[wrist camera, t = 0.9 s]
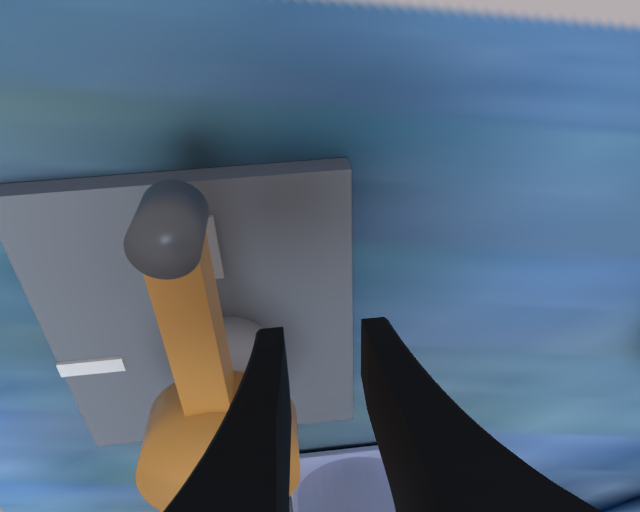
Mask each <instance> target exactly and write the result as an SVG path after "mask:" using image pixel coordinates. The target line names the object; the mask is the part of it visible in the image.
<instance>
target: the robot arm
mask: <svg viewBox="0 0 640 512" xmlns="http://www.w3.org/2000/svg"><path fill="white" fill-rule="evenodd" d="M361 377H362V383H363V388H364V394H365V400H366V405H367V410H368V414H369V417H370V421H371V424H372V428H373V431H374V434H375V438H376V441H377V445H375V446H366V447H357V448H348V449H339V450H330V451H321V452H312V453H303V454H299V457H300V480H299V484H298V486H297V488H296V490H295V491H294V493H293V494H292V495H291V498H292V506H293V512H601V511H600V510H598V509H596V508H595V507H593V506H591V505H590V504H588V503H587V502H585V501H583V500H582V499H580V498H578V497H577V496H575V495H573V494H572V493H570V492H568V491H567V490H565V489H563V488H562V487H560V486H558V485H557V484H555V483H554V482H552V481H551V480H549V479H548V478H546V477H545V476H544V475H542V474H541V473H539V472H538V471H536V470H535V469H533V468H532V467H531V466H529V465H528V464H527V463H525V462H524V461H523V460H522V459H520V458H519V457H518V456H516V455H515V454H514V453H512V452H511V451H510V450H508V449H507V448H506V447H504V446H503V445H502V444H501V443H499V442H498V441H497V440H496V439H494V438H493V437H492V436H491V435H490V434H489V433H487V432H486V431H485V430H484V429H483V428H482V427H480V426H479V425H478V424H477V423H476V422H475V421H474V420H473V419H472V418H471V417H469V416H468V415H467V414H466V413H465V412H464V411H463V410H462V409H461V408H460V407H459V406H458V405H457V404H456V403H455V402H454V401H453V400H452V399H451V398H450V397H449V396H448V395H447V394H446V393H445V392H444V391H443V390H442V388H441V387H440V386H439V385H438V384H437V383H436V382H435V381H434V380H433V379H432V377H431V376H430V375H429V374H428V373H427V371H426V370H425V369H424V368H423V367H422V366H421V364H420V363H419V362H418V361H417V360H416V358H415V357H414V356H413V354H412V353H411V352H410V351H409V349H408V348H407V347H406V345H405V344H404V343H403V341H402V340H401V339H400V337H399V336H398V334H397V333H396V331H395V330H394V328H393V327H392V325H391V324H390V322H389V321H388V320H387V319H386V318H385V317H379V318H368V319H361ZM291 423H292V415H291V400H290V386H289V375H288V366H287V356H286V347H285V338H284V329H283V327H274V328H264V329H259V330H258V331H257V332H256V336H255V341H254V345H253V349H252V352H251V355H250V358H249V361H248V364H247V367H246V370H245V372H244V375H243V377H242V380H241V382H240V384H239V387H238V389H237V392H236V394H235V396H234V398H233V400H232V402H231V404H230V407H229V409H228V411H227V413H226V415H225V417H224V419H223V421H222V423H221V425H220V427H219V428H218V430H217V432H216V434H215V436H214V437H213V439H212V441H211V443H210V444H209V446H208V448H207V449H206V451H205V453H204V454H203V456H202V457H201V459H200V461H199V462H198V464H197V465H196V467H195V468H194V470H193V471H192V473H191V474H190V476H189V477H188V479H187V480H186V482H185V483H184V484H183V486H182V487H181V489H180V490H179V492H178V493H177V494H176V496H175V497H174V498H173V499H172V501H171V502H170V503H169V505H168V506H167V507H166V508H165V510H164V511H163V512H289V488H290V456H291Z"/></svg>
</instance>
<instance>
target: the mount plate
mask: <svg viewBox="0 0 640 512" xmlns="http://www.w3.org/2000/svg"><path fill="white" fill-rule="evenodd" d="M168 179H174V180H180V181H184V182H187V183H189V184H191V185H193V186H194V187H196V188H197V189H198V190H199V191H200V192H201V193H202V194H203V195H204V197H205V199H206V201H207V203H208V207H209V217H208V222H207V228H206V234H207V239H208V244H209V249H210V254H211V260H212V265H213V270H214V275H215V280H216V285H217V290H218V295H219V301H220V306H221V311H222V316H223V321H224V326H225V331H226V336H227V341H228V347H229V352H230V357H231V362H232V367H233V371H241V372H245V370H246V367H247V364H248V361H249V358H250V355H251V352H252V349H253V345H254V341H255V336H256V332H257V331H258V330H259V329H264V328H274V327H283V329H284V338H285V347H286V356H287V366H288V375H289V386H290V398H291V400H292V401H293V404H294V406H295V409H296V415H297V425H302V424H311V423H320V422H330V421H339V420H348V419H353V311H352V169H351V166H350V163H349V161H348V158H347V157H346V158H333V159H320V160H307V161H294V162H281V163H267V164H254V165H241V166H228V167H215V168H202V169H189V170H176V171H163V172H150V173H137V174H123V175H110V176H97V177H84V178H71V179H58V180H45V181H32V182H19V183H6V184H0V241H1V243H2V245H3V247H4V249H5V251H6V254H7V256H8V258H9V260H10V262H11V264H12V266H13V268H14V271H15V273H16V275H17V277H18V279H19V281H20V283H21V286H22V288H23V290H24V292H25V294H26V296H27V298H28V300H29V303H30V305H31V307H32V309H33V311H34V313H35V315H36V318H37V320H38V322H39V324H40V326H41V328H42V330H43V333H44V335H45V337H46V339H47V341H48V343H49V345H50V347H51V350H52V352H53V354H54V356H55V358H56V360H57V364H56V367H57V369H58V371H59V373H60V375H61V377H65V380H66V382H67V384H68V386H69V388H70V390H71V392H72V394H73V397H74V399H75V401H76V403H77V405H78V407H79V409H80V412H81V414H82V416H83V418H84V420H85V422H86V424H87V426H88V429H89V431H90V433H91V435H92V437H93V439H94V441H95V444H96V446H106V445H115V444H125V443H134V442H143V439H144V435H145V431H146V426H147V422H148V418H149V414H150V410H151V407H152V404H153V403H154V401H155V399H156V398H157V397H158V395H159V394H160V393H161V392H162V391H163V390H164V389H166V388H167V387H168V386H170V385H171V384H173V383H174V382H175V381H174V377H173V374H172V371H171V367H170V364H169V360H168V357H167V353H166V350H165V347H164V343H163V340H162V336H161V333H160V330H159V326H158V323H157V319H156V316H155V313H154V309H153V306H152V302H151V299H150V296H149V292H148V289H147V285H146V282H145V279H144V275H143V273H141V272H140V271H138V270H137V269H136V268H135V267H134V266H133V265H132V264H131V263H130V262H129V260H128V259H127V257H126V254H125V251H124V237H125V235H126V232H127V230H128V228H129V226H130V223H131V221H132V219H133V217H134V214H135V212H136V210H137V208H138V205H139V203H140V201H141V199H142V197H143V194H144V193H145V191H146V190H147V189H148V188H149V187H150V186H151V185H153V184H155V183H157V182H159V181H162V180H168Z"/></svg>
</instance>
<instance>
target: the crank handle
mask: <svg viewBox="0 0 640 512" xmlns="http://www.w3.org/2000/svg"><path fill="white" fill-rule="evenodd" d="M208 217H209V207H208V203H207V201H206V199H205V197H204V195H203V194H202V193H201V192H200V191H199V190H198V189H197V188H196V187H194V186H193V185H191V184H189V183H187V182H184V181H180V180H174V179H168V180H162V181H159V182H157V183H155V184H153V185H151V186H150V187H149V188H148V189H147V190H146V191H145V193H144V194H143V197H142V199H141V201H140V203H139V205H138V208H137V210H136V212H135V214H134V217H133V219H132V221H131V223H130V226H129V228H128V230H127V232H126V235H125V237H124V251H125V254H126V257H127V259H128V260H129V262H130V263H131V264H132V265H133V266H134V267H135V268H136V269H137V270H138V271H140V272H141V273H143V275H144V279H145V282H146V285H147V289H148V292H149V296H150V299H151V302H152V306H153V309H154V313H155V316H156V319H157V323H158V326H159V330H160V333H161V336H162V340H163V343H164V347H165V350H166V353H167V357H168V360H169V364H170V367H171V371H172V374H173V377H174V381H175V382H174V383H173V384H171V385H170V386H168V387H167V388H166V389H164V390H163V391H162V392H161V393H160V394H159V395H158V397H157V398H156V399H155V401H154V403H153V404H152V407H151V410H150V414H149V418H148V422H147V426H146V431H145V435H144V439H143V444H142V448H141V452H140V457H139V461H138V465H137V469H136V484H137V487H138V490H139V492H140V493H141V495H142V496H143V497H144V499H145V500H146V501H147V502H148V503H149V504H151V505H152V506H153V507H155V508H156V509H158V510H159V511H161V512H163V511H164V510H165V508H166V507H167V506H168V505H169V503H170V502H171V501H172V499H173V498H174V497H175V496H176V494H177V493H178V492H179V490H180V489H181V487H182V486H183V484H184V483H185V482H186V480H187V479H188V477H189V476H190V474H191V473H192V471H193V470H194V468H195V467H196V465H197V464H198V462H199V461H200V459H201V457H202V456H203V454H204V453H205V451H206V449H207V448H208V446H209V444H210V443H211V441H212V439H213V437H214V436H215V434H216V432H217V430H218V428H219V427H220V425H221V423H222V421H223V419H224V417H225V415H226V413H227V411H228V409H229V407H230V404H231V402H232V400H233V398H234V396H235V394H236V392H237V389H238V387H239V384H240V382H241V380H242V377H243V375H244V372H241V371H233V367H232V362H231V357H230V352H229V347H228V341H227V336H226V331H225V326H224V321H223V316H222V311H221V306H220V301H219V295H218V290H217V285H216V280H215V275H214V270H213V265H212V260H211V254H210V249H209V244H208V239H207V234H206V228H207V222H208ZM290 400H291V398H290ZM291 415H292V423H291V456H290V488H289V497H290V496H291V495H292V494H293V493H294V491H295V490H296V488H297V486H298V484H299V480H300V457H299V443H298V429H297V415H296V409H295V406H294V404H293V401H292V400H291Z"/></svg>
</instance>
